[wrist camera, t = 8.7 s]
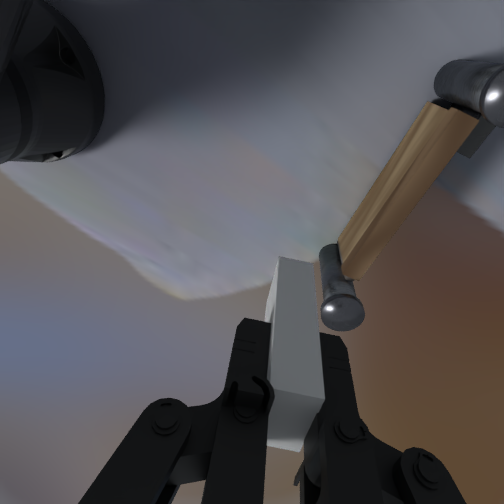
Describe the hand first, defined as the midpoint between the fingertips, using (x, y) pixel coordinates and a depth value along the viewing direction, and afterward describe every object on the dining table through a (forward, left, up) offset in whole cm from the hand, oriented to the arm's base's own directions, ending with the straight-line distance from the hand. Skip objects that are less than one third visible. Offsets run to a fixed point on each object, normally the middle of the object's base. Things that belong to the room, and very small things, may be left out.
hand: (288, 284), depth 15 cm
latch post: (+10, +10, -24) cm, 28 cm away
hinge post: (+10, -9, -24) cm, 27 cm away
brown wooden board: (+10, +1, -23) cm, 25 cm away
